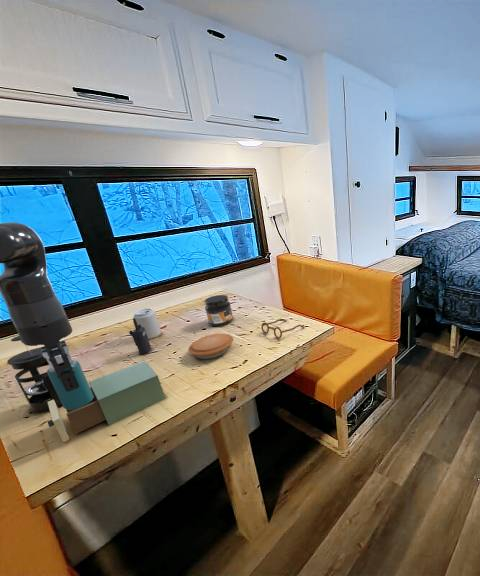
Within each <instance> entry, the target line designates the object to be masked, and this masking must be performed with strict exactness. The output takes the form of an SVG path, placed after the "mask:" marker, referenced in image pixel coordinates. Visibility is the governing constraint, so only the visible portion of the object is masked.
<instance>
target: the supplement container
mask: <svg viewBox="0 0 480 576" xmlns="http://www.w3.org/2000/svg"><path fill="white" fill-rule="evenodd" d="M204 305H205V307H204V310H205V314H206V317H207V320H208V325H210V326H212V327H222V326H227V325H229V324H230V323H231V322H233V321H234V315H233V310H232V304H231V302H230V301H229V297H228V295H226V294H216V295H212V296H209V297H207V298H205V299H204Z"/></svg>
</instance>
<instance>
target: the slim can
mask: <svg viewBox="0 0 480 576" xmlns="http://www.w3.org/2000/svg"><path fill="white" fill-rule="evenodd" d="M72 361H73V362H72V363H71V367H72V369H73V370H74V371H75V374H74V375H75V377H76V380H77V382H78V384H79V388H77V389H74V390H72V391H69V392H67V391H66V390H65V388H64V386H63V383H62V381H61V379H60V380H59V378H57V376H58V375H57V373H56V371H55V370H54V369H51V368H50V367H49V368H48V369H47V370H46V372H47V374H48V376H49V378H50V380H51V382H52V384H53V386H54V388H55V390H56V392H57V394H58V396H59V399H60V401H61V403H62V405H63V406H62V407H63V409H65V410H66V411H67V410H72V409H76V408H79V407H82V406H84V405H86V404H88V403H89V402H90V401H92V399H93V398H94V396H93V393H92V391H91V389H90V387H91V386H90V384H89V381H88V379H87V376H86V375H85V373H84V370H83V368H82V365H81V363H80V361H79V360H75V359H72ZM67 370H69V368H66V369H63V370H60V373H61V372H64V371H67Z"/></svg>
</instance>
